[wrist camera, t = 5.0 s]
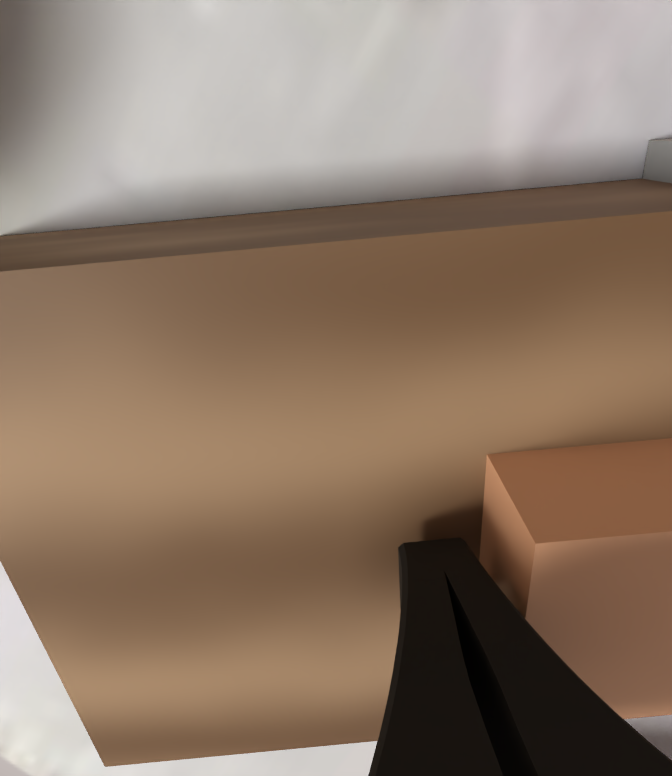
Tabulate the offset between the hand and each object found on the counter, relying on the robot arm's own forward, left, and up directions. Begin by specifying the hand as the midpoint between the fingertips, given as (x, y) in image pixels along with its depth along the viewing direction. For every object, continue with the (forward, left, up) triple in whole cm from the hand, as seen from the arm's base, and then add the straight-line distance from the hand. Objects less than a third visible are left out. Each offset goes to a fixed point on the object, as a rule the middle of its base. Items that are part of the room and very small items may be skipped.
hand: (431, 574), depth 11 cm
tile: (0, -4, -1) cm, 4 cm away
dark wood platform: (0, +2, -5) cm, 5 cm away
